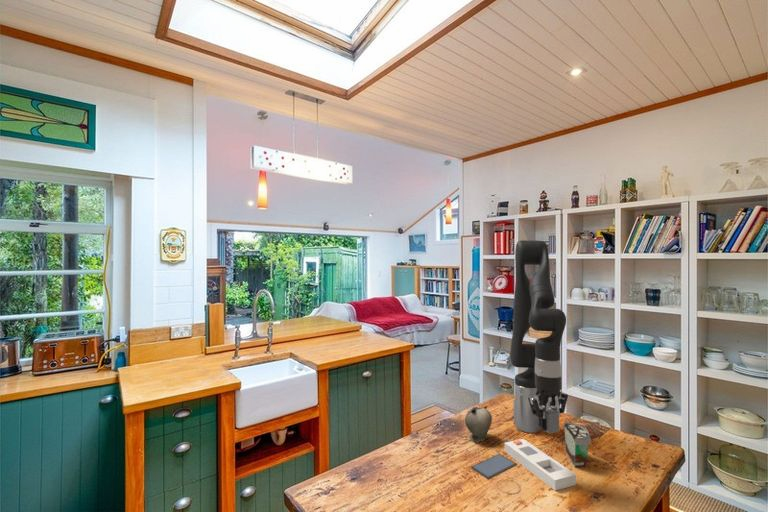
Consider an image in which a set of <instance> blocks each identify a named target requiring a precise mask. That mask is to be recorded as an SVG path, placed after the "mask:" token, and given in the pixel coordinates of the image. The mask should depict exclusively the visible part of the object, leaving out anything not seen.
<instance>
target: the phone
mask: <svg viewBox="0 0 768 512" xmlns="http://www.w3.org/2000/svg"><path fill="white" fill-rule="evenodd" d="M515 466H518V463H517V462H515V461H514V460H511V459H510V458H508V457H506V456H505V455H502V454H501V453H498V454H495V455H493V456H492V457H489V458H487V459H485V460H483V461H481V462H478V463H475V464H473V465H471V466H470V469H472V470H473V471H474V472H476V473H477V474H479V475H481V476H482V477H484V478H485V479H487V480H490V479H492V478H493V477H495V476H498V475H500V474H502V473H503V472H506V471H507V470H509V469H511V468H513V467H515Z"/></svg>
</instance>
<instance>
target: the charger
mask: <svg viewBox="0 0 768 512" xmlns="http://www.w3.org/2000/svg"><path fill="white" fill-rule="evenodd" d="M542 413H543V410H542ZM546 426H547V430H546V431H544V432H546V433H547V434H549V435H550V434H553V433H554V434H555V433H559V432H560V416H559V412H558V411H555V410H554V409H552V408H550V407H549V411H548V412H547V415H546ZM539 428H540V427H539Z"/></svg>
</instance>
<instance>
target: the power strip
mask: <svg viewBox="0 0 768 512" xmlns="http://www.w3.org/2000/svg"><path fill="white" fill-rule="evenodd" d="M504 441H505V442H504V452H505V453H506V454H508V455H509V456H510V457H511V458H512V459H514V460H515V461H516V462H518V463H519V464H520V465H522V466H523V467H524V468H525V469H527V470H528V471H529V472H530V473H532V474H533V475H535V477H537V478H538V479H540V480H541V481H542V482H544V484H546V485H547V486H548V487H550V489H552V490H554V491H555V492H557V491H558V490H562V489H566V488H569V487H573V486H576V485H577V474H576V473H575V472H573V471H572V470H570V469H569V468H567V467H566V466H565V465H563V464H561V463H560V462H558V461H556V460H555V458H552V457H551V456H549V455H548V454H547V453H546V452H544V451H542V450H541V449H539V448H538V447H536V446H534V445H533V444H531V443H530V442H529V441H527V440H526V439H524V438H521V439H515V440H512V441H511V440H510V439H508V438H505V440H504Z"/></svg>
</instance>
